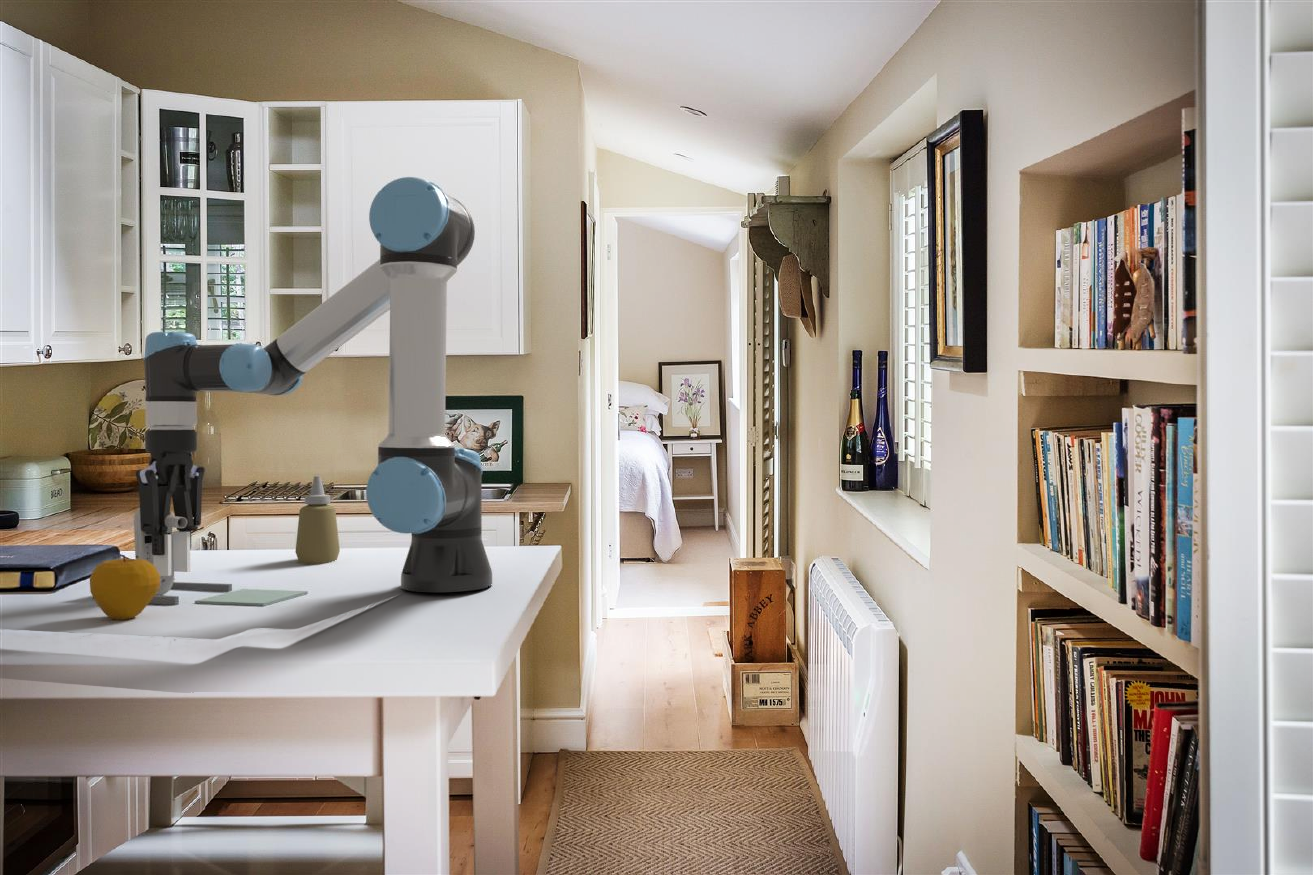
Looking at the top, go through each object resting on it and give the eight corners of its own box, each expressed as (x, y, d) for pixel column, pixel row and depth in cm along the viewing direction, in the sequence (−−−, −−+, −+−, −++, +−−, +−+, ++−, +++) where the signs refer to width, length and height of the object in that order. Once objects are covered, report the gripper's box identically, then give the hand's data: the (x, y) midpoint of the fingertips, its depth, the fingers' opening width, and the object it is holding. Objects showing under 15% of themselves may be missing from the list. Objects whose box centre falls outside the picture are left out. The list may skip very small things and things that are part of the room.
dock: (252, 586, 174) (252, 562, 174) (175, 604, 156) (175, 578, 155) (166, 583, 178) (166, 560, 178) (81, 601, 159) (80, 575, 159)
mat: (307, 593, 166) (307, 591, 166) (263, 605, 154) (263, 603, 154) (242, 591, 169) (242, 588, 169) (194, 603, 157) (194, 600, 157)
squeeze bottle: (308, 567, 199) (307, 475, 199) (347, 567, 198) (346, 475, 198) (287, 572, 191) (287, 477, 191) (328, 573, 190) (327, 477, 190)
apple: (174, 613, 148) (174, 552, 148) (129, 624, 139) (129, 559, 139) (121, 611, 150) (121, 550, 150) (74, 622, 142) (73, 558, 141)
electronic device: (169, 603, 158) (165, 507, 157) (135, 597, 163) (130, 504, 163) (201, 597, 162) (197, 503, 162) (166, 591, 168) (162, 500, 167)
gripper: (186, 428, 173) (187, 565, 173) (112, 428, 156) (113, 580, 157) (224, 428, 171) (225, 566, 171) (154, 428, 155) (155, 582, 155)
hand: (172, 572), depth 164 cm, fingers closed on electronic device, 4 cm apart
